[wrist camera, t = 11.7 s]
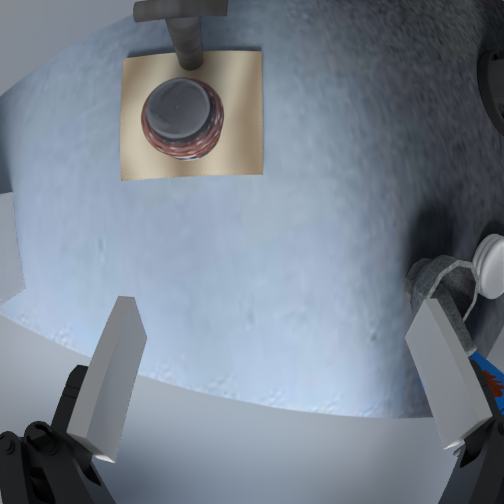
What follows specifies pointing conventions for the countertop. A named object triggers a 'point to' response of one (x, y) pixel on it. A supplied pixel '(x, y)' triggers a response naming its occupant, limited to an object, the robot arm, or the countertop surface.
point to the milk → (9, 251)
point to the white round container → (490, 266)
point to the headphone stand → (207, 70)
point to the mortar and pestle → (446, 291)
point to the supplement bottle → (183, 118)
